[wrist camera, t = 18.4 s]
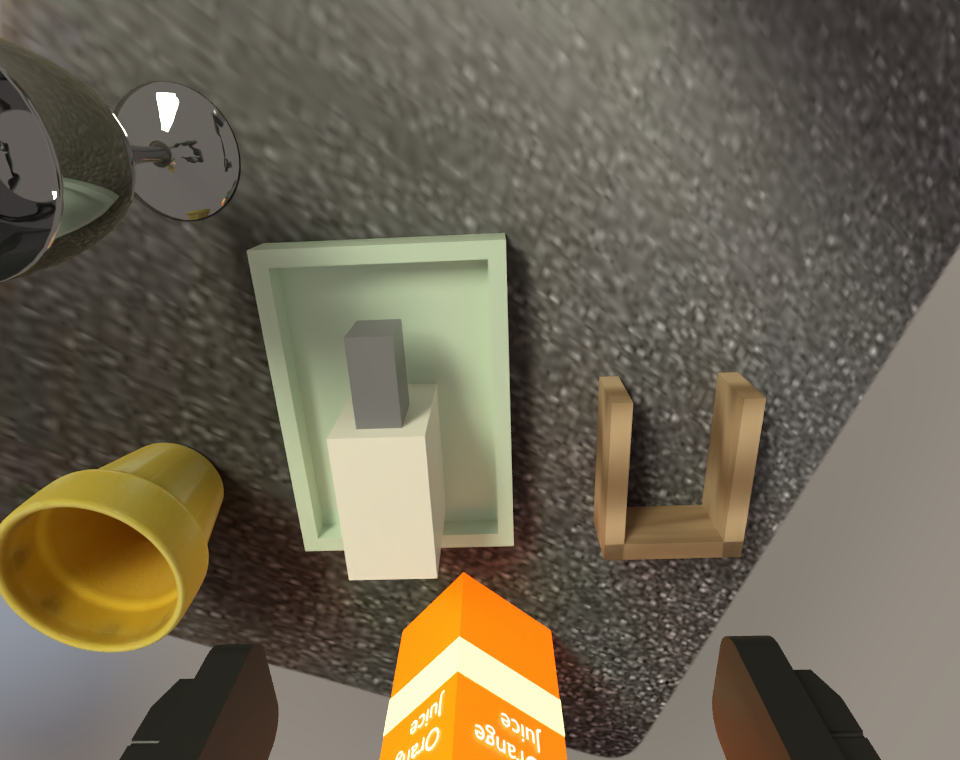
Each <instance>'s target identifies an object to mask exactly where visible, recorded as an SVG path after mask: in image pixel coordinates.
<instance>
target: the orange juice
mask: <svg viewBox="0 0 960 760" xmlns="http://www.w3.org/2000/svg"><path fill="white" fill-rule="evenodd" d="M383 736H384V739H383V745H382V750H381V756H380V760H567V755H566V747H565V739H564V737H565V732H564V724H563V716H562V708H561V700H560V699H559V691H558V683H557V675H556V667H555V659H554V651H553V643H552V635H551V630H549V629H548V628H546V627H545V626H543V625H542V624H540V623H539V622H537V621H536V620H534V619H533V618H531V617H530V616H528V615H527V614H525V613H524V612H522V611H521V610H519V609H518V608H516V607H515V606H513V605H512V604H510V603H509V602H507V601H506V600H504V599H503V598H501V597H500V596H498V595H497V594H495V593H494V592H492V591H491V590H489V589H488V588H486V587H485V586H483V585H482V584H480V583H479V582H477V581H476V580H474V579H473V578H471V577H470V576H468V575H467V574H465V573H464V572H463V573H462V574H461V575H460V576H459V577H458V578H457V579H456V580H455V581H454V582H453V583H452V584H451V585H450V586H449V587H448V588H447V589H446V590H445V591H444V592H443V593H442V594H441V595H440V596H439V597H437V598H436V599H435V600H434V601H433V602H432V603H431V604H430V605H429V606H428V607H427V608H426V609H425V610H424V611H423V612H422V613H421V614H420V615H419V616H418V617H417V618H416V619H415V620H414V621H413V622H412V623H411V624H409V625H408V626H407V627H406V628H405V629H404V630H403V633H402V639H401V645H400V650H399V656H398V661H397V667H396V672H395V678H394V683H393V689H392V695H391V699H390V701H389V707H388V712H387V718H386V723H385V729H384V734H383Z"/></svg>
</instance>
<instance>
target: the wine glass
mask: <svg viewBox="0 0 960 760" xmlns="http://www.w3.org/2000/svg"><path fill="white" fill-rule="evenodd" d="M239 171H240V156H239V151H238V146H237V143H236V140H235V137H234V134H233V132H232V130H231V128H230V126H229V124H228V122H227V120H226V119H225V118H224V116H223V115H222V114H221V112H220V111H219V110H218V109H217V108H216V107H215V106H214V105H213V104H212V103H211V102H210V101H209V100H208V99H207V98H205V97H204V96H203V95H201V94H200V93H199V92H197V91H195V90H193V89H191V88H189V87H187V86H184V85H181V84H178V83H174V82H167V81H156V82H149V83H146V84H142V85H140V86H138V87H136V88H134V89H132V90H131V91H130V92H128V93H127V94H126V95H125V96H124V97H123V98H122V99H121V101H120V102H119V103H118V105H117V106H116V108H115V110H114V112H113V111H112V110H111V108H110V107H109V106H108V105H107V103H106V102H105V101H104V100H103V99H102V98H101V97H100V96H99V95H98V94H97V93H96V92H95V91H94V90H93V89H92V88H90V87H89V86H88V85H87V84H86V83H84V82H83V81H82V80H80V79H79V78H78V77H76V76H75V75H73V74H72V73H71V72H69V71H68V70H66V69H64V68H63V67H61V66H59V65H57V64H55V63H54V62H52V61H50V60H48V59H46V58H44V57H42V56H40V55H39V54H37V53H35V52H33V51H31V50H29V49H26V48H24V47H22V46H19V45H17V44H15V43H12V42H10V41H7V40H5V39H3V38H0V282H3V281H7V280H11V279H15V278H18V277H22V276H26V275H30V274H33V273H36V272H39V271H42V270H44V269H47V268H50V267H53V266H56V265H58V264H60V263H62V262H64V261H66V260H69V259H71V258H73V257H74V256H76V255H78V254H80V253H82V252H84V251H86V250H87V249H89V248H91V247H92V246H93V245H95V244H96V243H97V242H99V241H100V240H101V239H103V238H104V237H105V236H106V235H108V234H109V233H110V232H111V231H113V230H114V228H115V227H116V226H117V225H118V223H119V222H120V221H121V220H122V218H123V217H124V216H125V214H126V213H127V211H128V209H129V207H130V205H131V203H132V199H133V196H134V197H135V198H136V199H137V200H139V201H140V202H141V203H142V204H143V205H145V206H146V207H148V208H149V209H151V210H152V211H154V212H156V213H158V214H160V215H162V216H165V217H168V218H171V219H176V220H183V221H189V220H198V219H202V218H206V217H208V216H210V215H212V214H215V213H216V212H217V211H219V210H220V209H221V208H223V207H224V205H225V204H226V203H227V202H228V201H229V200H230V198H231V196H232V195H233V193H234V191H235V188H236V185H237V182H238V179H239Z"/></svg>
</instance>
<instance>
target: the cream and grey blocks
mask: <svg viewBox="0 0 960 760" xmlns="http://www.w3.org/2000/svg"><path fill="white" fill-rule="evenodd" d="M344 345H345V352H346V359H347V366H348V374H349V381H350V388H351V396H350V398H349V400H348V401H347V403H346V405H345V407H344V408H343V410H342V412H341V414H340V416H339V417H338V419H337V421H336V423H335V425H334V426H333V428H332V430H331V432H330V433H329V435H328V437H327V439H326V440H327V446H328V452H329V459H330V465H331V471H332V477H333V483H334V490H335V496H336V502H337V508H338V514H339V521H340V527H341V533H342V539H343V545H344V552H345V558H346V564H347V570H348V577H349V580H379V579H426V578H437V576H438V568H439V560H440V552H441V543H442V535H443V527H444V519H445V511H446V498H445V484H444V471H443V458H442V445H441V431H440V418H439V405H438V392H437V383H419V384H408V383H407V373H406V362H405V352H404V342H403V331H402V321H401V319H386V320H358V321H356V322H355V324H354V325H353V326H352V328H351V329H350V330H349V331H348V333H347V334H346V335H345V337H344Z"/></svg>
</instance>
